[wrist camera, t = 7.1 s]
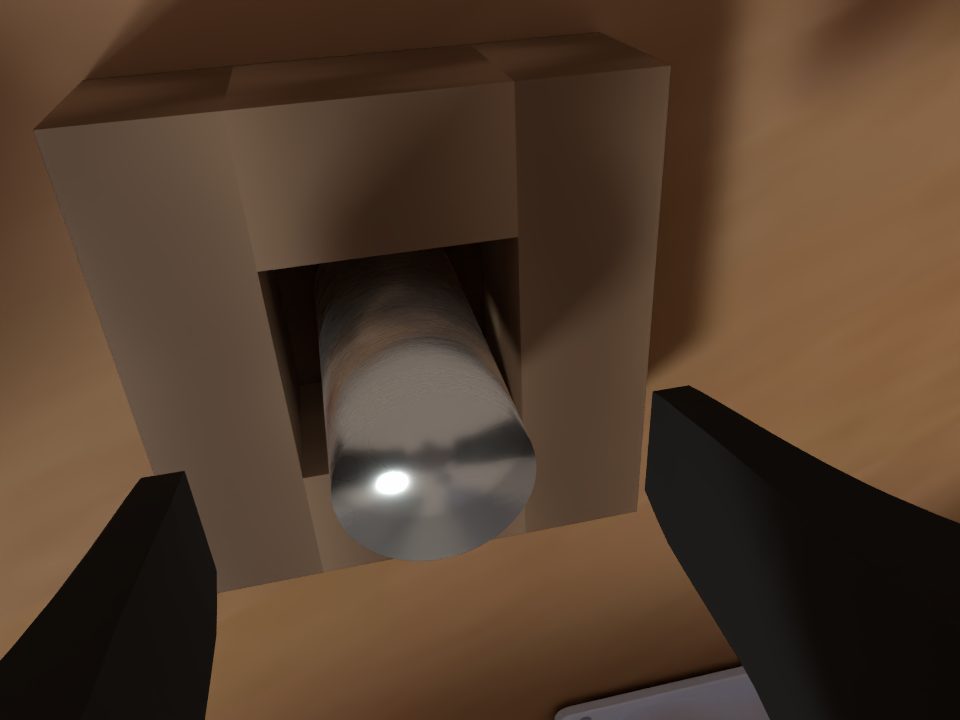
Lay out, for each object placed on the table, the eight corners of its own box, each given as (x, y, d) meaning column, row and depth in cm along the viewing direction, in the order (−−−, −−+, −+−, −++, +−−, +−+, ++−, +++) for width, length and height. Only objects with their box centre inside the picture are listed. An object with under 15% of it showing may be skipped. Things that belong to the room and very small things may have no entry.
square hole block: (599, 32, 16) (671, 65, 13) (587, 424, 21) (636, 511, 18) (82, 79, 14) (33, 130, 11) (209, 491, 20) (196, 596, 17)
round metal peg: (453, 217, 17) (541, 386, 11) (454, 341, 19) (531, 545, 13) (307, 227, 17) (321, 410, 11) (321, 355, 18) (340, 574, 13)
